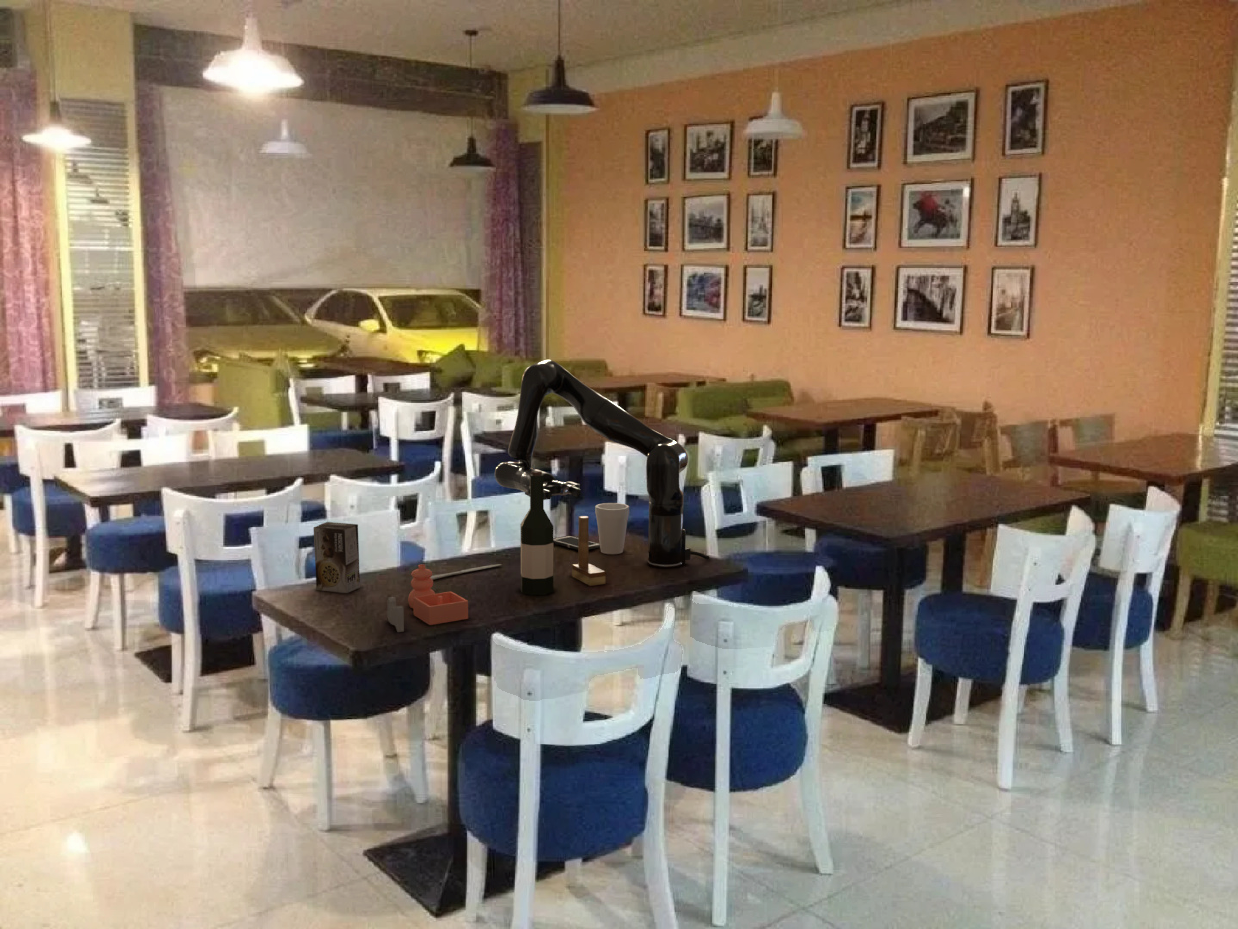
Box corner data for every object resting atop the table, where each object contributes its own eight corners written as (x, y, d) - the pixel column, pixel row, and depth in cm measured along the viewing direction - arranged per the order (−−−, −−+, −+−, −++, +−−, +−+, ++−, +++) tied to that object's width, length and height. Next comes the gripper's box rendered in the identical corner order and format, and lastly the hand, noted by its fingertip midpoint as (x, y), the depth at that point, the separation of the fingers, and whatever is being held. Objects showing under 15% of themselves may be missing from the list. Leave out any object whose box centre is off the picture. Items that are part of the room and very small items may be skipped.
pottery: (468, 618, 264) (467, 576, 262) (429, 625, 259) (428, 582, 257) (435, 599, 279) (435, 559, 277) (398, 605, 274) (397, 564, 272)
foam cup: (594, 547, 332) (594, 503, 329) (626, 547, 333) (626, 502, 330) (597, 555, 322) (597, 510, 320) (630, 555, 323) (630, 509, 321)
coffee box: (361, 587, 288) (359, 524, 286) (346, 594, 282) (345, 529, 280) (329, 583, 291) (327, 521, 289) (314, 590, 285) (312, 526, 283)
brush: (572, 576, 300) (572, 516, 298) (587, 574, 303) (587, 514, 300) (590, 586, 292) (590, 523, 289) (605, 583, 294) (606, 522, 291)
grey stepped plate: (397, 632, 253) (386, 619, 262) (404, 632, 254) (392, 618, 263) (397, 607, 252) (386, 595, 261) (403, 606, 253) (392, 594, 262)
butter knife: (420, 577, 296) (426, 579, 294) (498, 562, 311) (504, 565, 309) (420, 578, 296) (426, 581, 294) (498, 564, 311) (504, 566, 309)
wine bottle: (548, 596, 282) (548, 475, 277) (516, 594, 284) (515, 473, 279) (557, 587, 290) (557, 469, 285) (525, 585, 292) (525, 468, 287)
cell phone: (568, 538, 342) (568, 535, 342) (602, 547, 331) (602, 544, 331) (548, 542, 337) (548, 539, 337) (581, 551, 326) (581, 548, 326)
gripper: (514, 472, 316) (539, 482, 302) (561, 468, 323) (588, 478, 309) (514, 499, 317) (539, 510, 303) (560, 495, 324) (588, 505, 310)
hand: (564, 494), depth 306 cm, fingers open, 8 cm apart
